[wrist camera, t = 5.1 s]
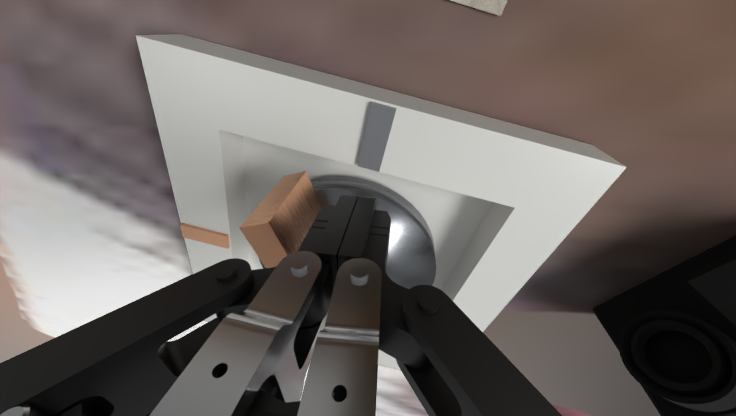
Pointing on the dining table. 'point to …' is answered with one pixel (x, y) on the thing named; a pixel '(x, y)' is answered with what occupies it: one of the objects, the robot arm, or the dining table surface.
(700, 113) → the dining table surface
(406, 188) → the panel
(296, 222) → the dial
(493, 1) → the condiment
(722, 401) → the digital camera
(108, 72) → the dining table surface
